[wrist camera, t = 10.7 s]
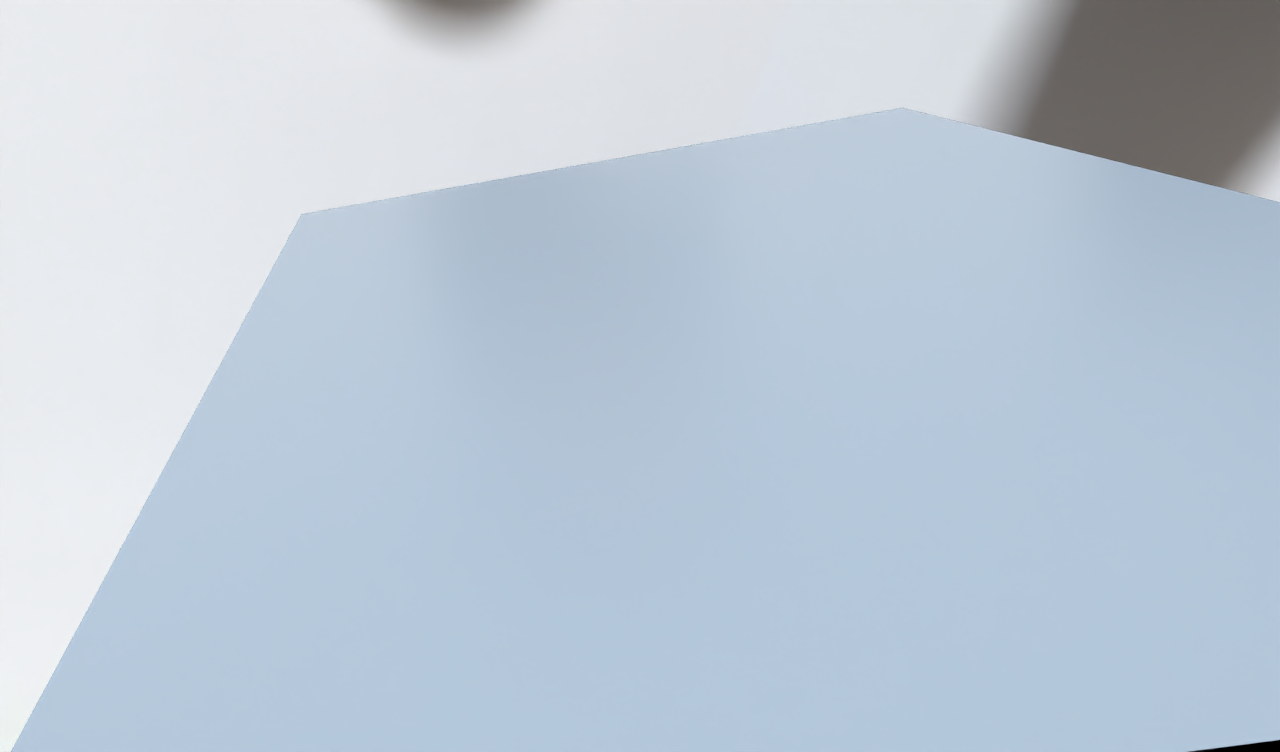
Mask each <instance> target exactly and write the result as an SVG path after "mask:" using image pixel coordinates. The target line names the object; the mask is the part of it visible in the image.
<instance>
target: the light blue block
mask: <svg viewBox="0 0 1280 752" xmlns="http://www.w3.org/2000/svg"><path fill="white" fill-rule="evenodd" d="M11 752H1280V202H1276V201H1272V200H1268V199H1264V198H1260V197H1256V196H1252V195H1248V194H1244V193H1240V192H1236V191H1232V190H1228V189H1224V188H1220V187H1216V186H1212V185H1208V184H1204V183H1200V182H1197V181H1193V180H1189V179H1185V178H1181V177H1177V176H1173V175H1169V174H1165V173H1161V172H1157V171H1153V170H1149V169H1145V168H1141V167H1137V166H1133V165H1129V164H1125V163H1121V162H1117V161H1113V160H1109V159H1105V158H1101V157H1097V156H1093V155H1089V154H1085V153H1081V152H1077V151H1073V150H1069V149H1065V148H1061V147H1057V146H1053V145H1049V144H1045V143H1041V142H1037V141H1033V140H1029V139H1025V138H1021V137H1017V136H1013V135H1009V134H1005V133H1001V132H997V131H993V130H989V129H985V128H982V127H978V126H974V125H970V124H966V123H962V122H958V121H954V120H950V119H946V118H942V117H938V116H934V115H930V114H926V113H922V112H918V111H914V110H910V109H906V108H899V109H893V110H888V111H882V112H876V113H871V114H865V115H859V116H854V117H848V118H842V119H837V120H831V121H826V122H820V123H814V124H809V125H803V126H797V127H792V128H786V129H780V130H775V131H769V132H763V133H758V134H752V135H746V136H741V137H735V138H729V139H724V140H718V141H712V142H707V143H701V144H696V145H690V146H684V147H679V148H673V149H667V150H662V151H656V152H650V153H645V154H639V155H633V156H628V157H622V158H616V159H611V160H605V161H599V162H594V163H588V164H582V165H577V166H571V167H566V168H560V169H554V170H549V171H543V172H537V173H532V174H526V175H520V176H515V177H509V178H503V179H498V180H492V181H486V182H481V183H475V184H469V185H464V186H458V187H453V188H447V189H441V190H436V191H430V192H424V193H419V194H413V195H407V196H402V197H396V198H390V199H385V200H379V201H373V202H368V203H362V204H356V205H351V206H345V207H339V208H334V209H328V210H323V211H317V212H311V213H306V214H301V216H300V218H299V220H298V222H297V223H296V225H295V227H294V229H293V231H292V233H291V235H290V236H289V238H288V240H287V242H286V244H285V246H284V248H283V249H282V251H281V253H280V255H279V257H278V259H277V260H276V262H275V264H274V266H273V268H272V270H271V272H270V273H269V275H268V277H267V279H266V281H265V283H264V285H263V286H262V288H261V290H260V292H259V294H258V296H257V297H256V299H255V301H254V303H253V305H252V307H251V309H250V310H249V312H248V314H247V316H246V318H245V320H244V322H243V323H242V325H241V327H240V329H239V331H238V333H237V334H236V336H235V338H234V340H233V342H232V344H231V346H230V347H229V349H228V351H227V353H226V355H225V357H224V358H223V360H222V362H221V364H220V366H219V368H218V370H217V371H216V373H215V375H214V377H213V379H212V381H211V383H210V384H209V386H208V388H207V390H206V392H205V394H204V395H203V397H202V399H201V401H200V403H199V405H198V407H197V408H196V410H195V412H194V414H193V416H192V418H191V420H190V421H189V423H188V425H187V427H186V429H185V431H184V432H183V434H182V436H181V438H180V440H179V442H178V444H177V445H176V447H175V449H174V451H173V453H172V455H171V457H170V458H169V460H168V462H167V464H166V466H165V468H164V469H163V471H162V473H161V475H160V477H159V479H158V481H157V482H156V484H155V486H154V488H153V490H152V492H151V494H150V495H149V497H148V499H147V501H146V503H145V505H144V506H143V508H142V510H141V512H140V514H139V516H138V518H137V519H136V521H135V523H134V525H133V527H132V529H131V531H130V532H129V534H128V536H127V538H126V540H125V542H124V543H123V545H122V547H121V549H120V551H119V553H118V555H117V556H116V558H115V560H114V562H113V564H112V566H111V568H110V569H109V571H108V573H107V575H106V577H105V579H104V580H103V582H102V584H101V586H100V588H99V590H98V592H97V593H96V595H95V597H94V599H93V601H92V603H91V605H90V606H89V608H88V610H87V612H86V614H85V616H84V617H83V619H82V621H81V623H80V625H79V627H78V629H77V630H76V632H75V634H74V636H73V638H72V640H71V642H70V643H69V645H68V647H67V649H66V651H65V653H64V654H63V656H62V658H61V660H60V662H59V664H58V666H57V667H56V669H55V671H54V673H53V675H52V677H51V678H50V680H49V682H48V684H47V686H46V688H45V690H44V691H43V693H42V695H41V697H40V699H39V701H38V703H37V704H36V706H35V708H34V710H33V712H32V714H31V715H30V717H29V719H28V721H27V723H26V725H25V727H24V728H23V730H22V732H21V734H20V736H19V738H18V740H17V741H16V743H15V745H14V747H13V749H12V751H11Z"/></svg>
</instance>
